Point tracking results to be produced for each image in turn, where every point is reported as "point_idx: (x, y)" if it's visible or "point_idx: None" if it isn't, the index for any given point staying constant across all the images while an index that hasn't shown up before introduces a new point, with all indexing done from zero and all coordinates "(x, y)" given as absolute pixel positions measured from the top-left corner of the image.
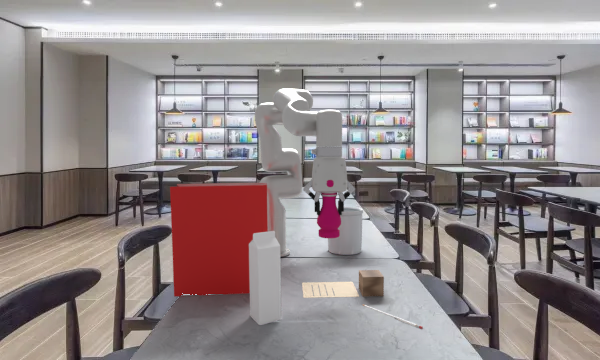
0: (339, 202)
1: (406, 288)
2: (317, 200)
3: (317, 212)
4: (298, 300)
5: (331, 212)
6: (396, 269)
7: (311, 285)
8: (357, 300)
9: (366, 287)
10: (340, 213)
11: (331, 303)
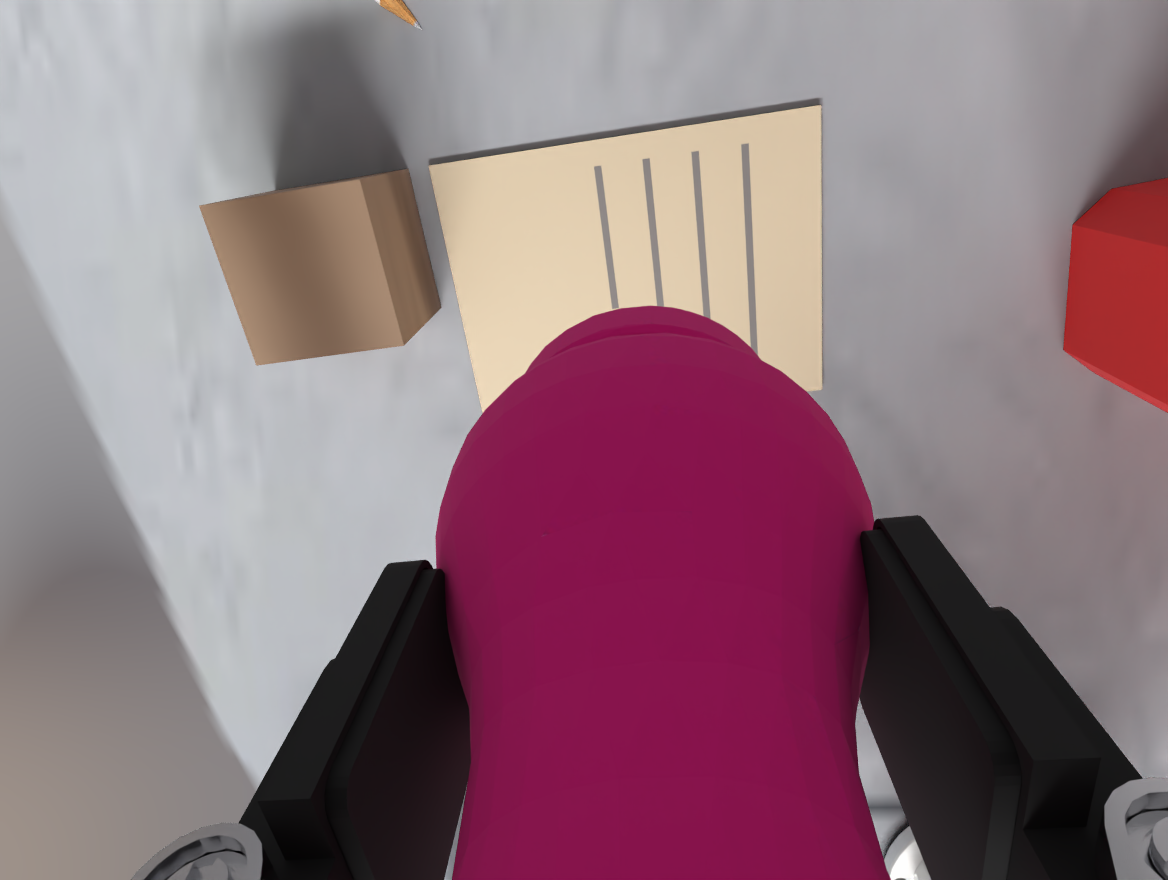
0: (342, 786)
1: (149, 347)
2: (1124, 829)
3: (937, 560)
4: (857, 61)
5: (599, 505)
6: (236, 640)
7: (757, 341)
8: (440, 106)
9: (361, 177)
10: (407, 570)
11: (617, 28)
